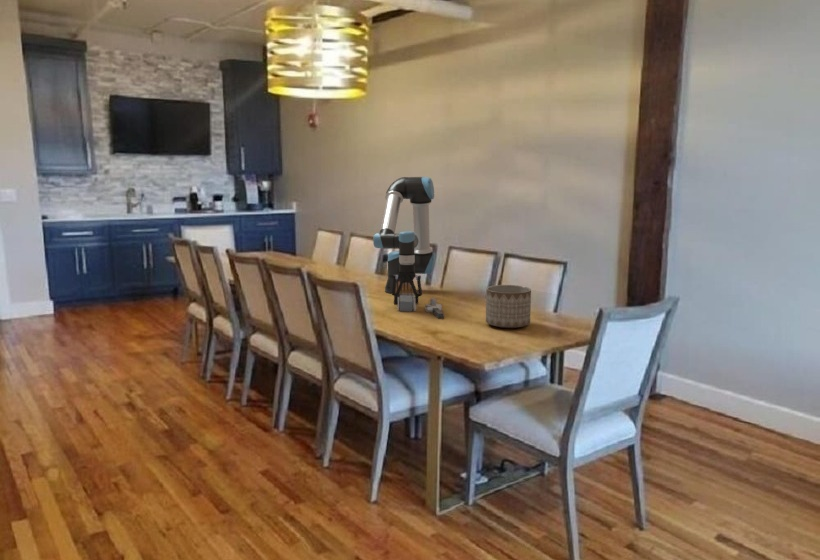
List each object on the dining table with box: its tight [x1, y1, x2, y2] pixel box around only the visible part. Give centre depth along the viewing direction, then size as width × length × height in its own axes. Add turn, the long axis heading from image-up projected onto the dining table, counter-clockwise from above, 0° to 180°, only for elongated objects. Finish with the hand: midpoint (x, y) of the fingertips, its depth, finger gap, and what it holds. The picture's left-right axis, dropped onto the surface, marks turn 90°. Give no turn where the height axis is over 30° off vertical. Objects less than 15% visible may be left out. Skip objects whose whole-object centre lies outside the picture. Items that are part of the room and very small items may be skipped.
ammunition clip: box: [393, 281, 414, 306], centre depth 317 cm, size 11×2×12 cm, turn 104°
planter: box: [485, 284, 532, 329], centre depth 271 cm, size 19×19×16 cm
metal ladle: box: [424, 298, 445, 320], centre depth 294 cm, size 20×8×6 cm, turn 11°
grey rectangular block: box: [399, 293, 415, 313], centre depth 302 cm, size 6×6×8 cm
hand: (406, 309), depth 302 cm, fingers open, 7 cm apart
